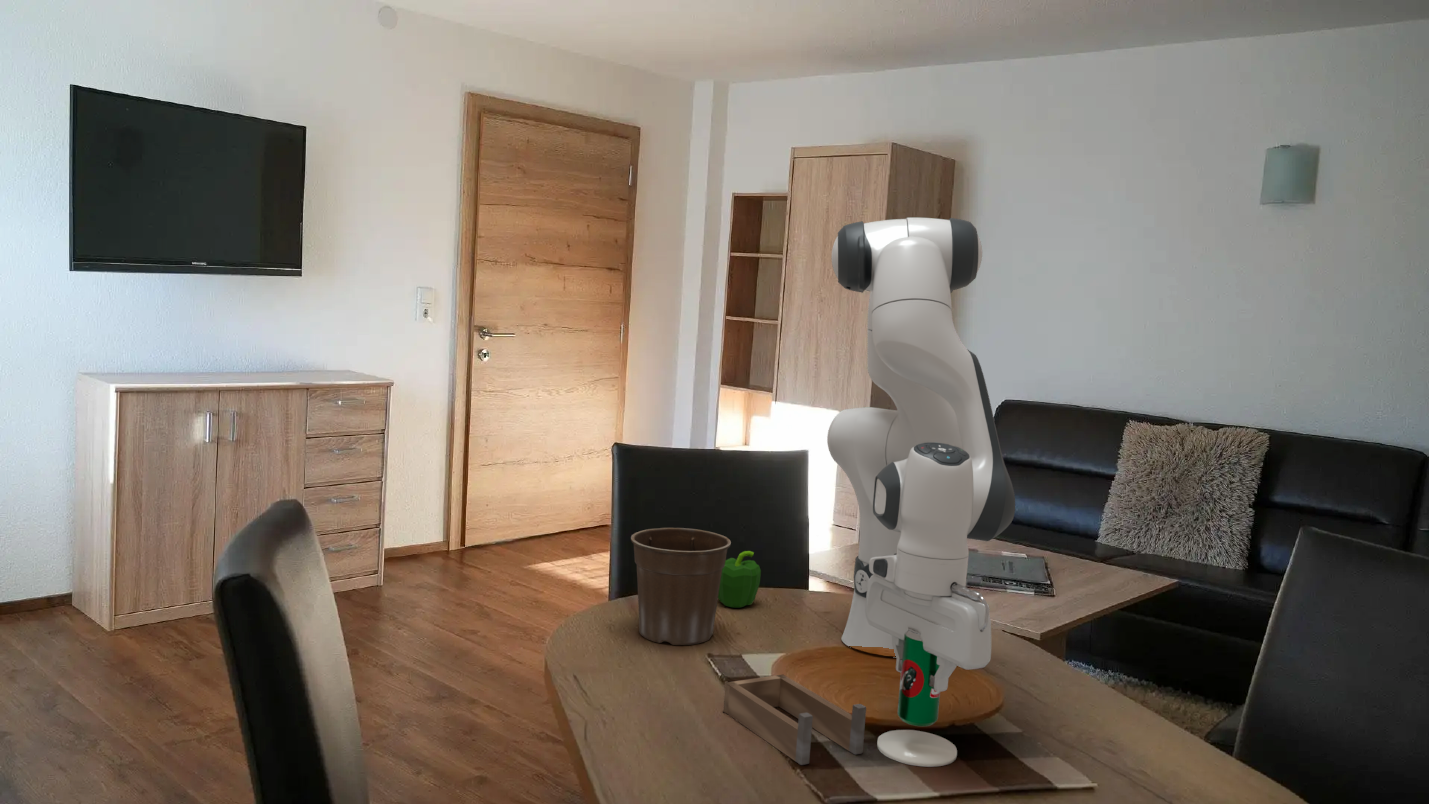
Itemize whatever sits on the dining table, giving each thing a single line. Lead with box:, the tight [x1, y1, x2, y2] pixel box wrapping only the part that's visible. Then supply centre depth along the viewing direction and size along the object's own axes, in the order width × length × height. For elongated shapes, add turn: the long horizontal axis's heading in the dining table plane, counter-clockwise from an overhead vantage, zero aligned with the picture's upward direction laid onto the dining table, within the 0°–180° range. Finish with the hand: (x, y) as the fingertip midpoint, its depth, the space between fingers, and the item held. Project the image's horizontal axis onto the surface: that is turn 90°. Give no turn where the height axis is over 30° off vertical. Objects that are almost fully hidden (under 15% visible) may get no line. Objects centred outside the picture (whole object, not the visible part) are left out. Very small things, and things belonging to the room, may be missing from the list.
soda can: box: [897, 627, 941, 727], centre depth 141 cm, size 5×5×12 cm
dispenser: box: [722, 674, 867, 766], centre depth 145 cm, size 9×18×6 cm, turn 30°
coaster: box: [876, 729, 958, 768], centre depth 142 cm, size 10×10×1 cm
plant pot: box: [630, 527, 732, 646], centre depth 182 cm, size 16×16×16 cm
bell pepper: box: [718, 550, 762, 609], centre depth 202 cm, size 8×8×10 cm
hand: (920, 680), depth 141 cm, fingers closed on soda can, 5 cm apart
